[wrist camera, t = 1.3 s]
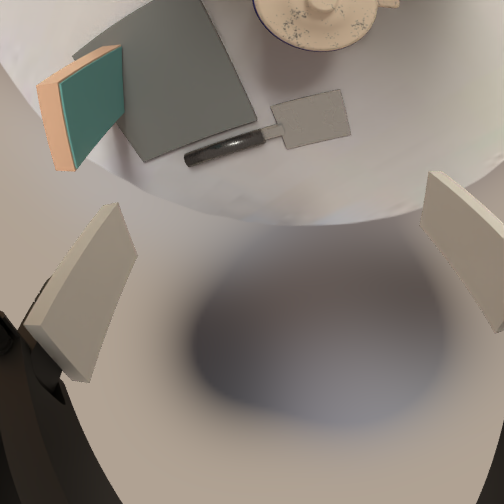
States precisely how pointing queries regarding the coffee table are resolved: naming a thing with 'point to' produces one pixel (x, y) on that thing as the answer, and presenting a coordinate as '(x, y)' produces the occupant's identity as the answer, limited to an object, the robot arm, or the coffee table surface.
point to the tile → (81, 105)
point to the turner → (287, 127)
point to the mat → (173, 77)
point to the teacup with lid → (319, 21)
